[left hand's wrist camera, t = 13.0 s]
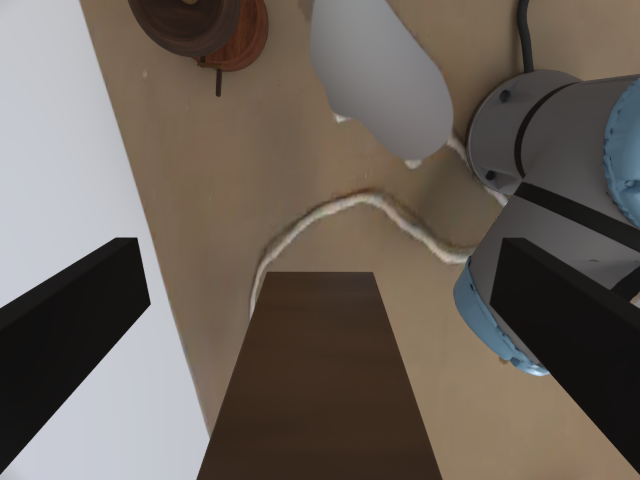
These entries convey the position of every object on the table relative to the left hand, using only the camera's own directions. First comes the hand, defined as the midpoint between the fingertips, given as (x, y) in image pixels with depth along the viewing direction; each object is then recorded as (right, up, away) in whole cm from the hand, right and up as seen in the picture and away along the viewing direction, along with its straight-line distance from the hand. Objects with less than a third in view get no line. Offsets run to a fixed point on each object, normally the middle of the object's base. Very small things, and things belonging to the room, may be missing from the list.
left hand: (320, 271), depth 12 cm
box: (0, -13, +11) cm, 17 cm away
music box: (-11, +26, +28) cm, 40 cm away
